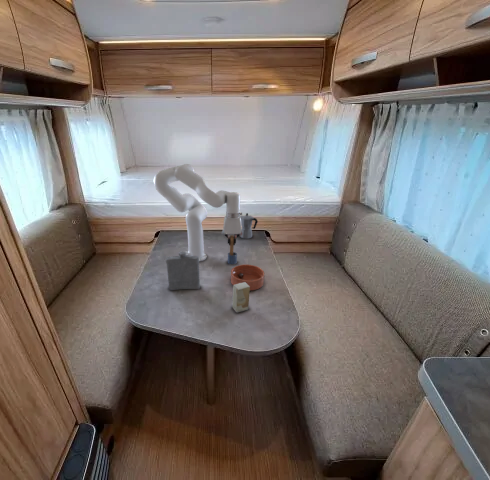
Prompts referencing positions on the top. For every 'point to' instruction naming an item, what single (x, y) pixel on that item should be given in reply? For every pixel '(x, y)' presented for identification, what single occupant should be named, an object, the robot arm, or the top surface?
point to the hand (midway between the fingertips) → (231, 244)
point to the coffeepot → (247, 225)
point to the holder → (232, 258)
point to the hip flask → (183, 272)
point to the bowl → (248, 276)
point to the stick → (231, 244)
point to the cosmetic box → (241, 296)
